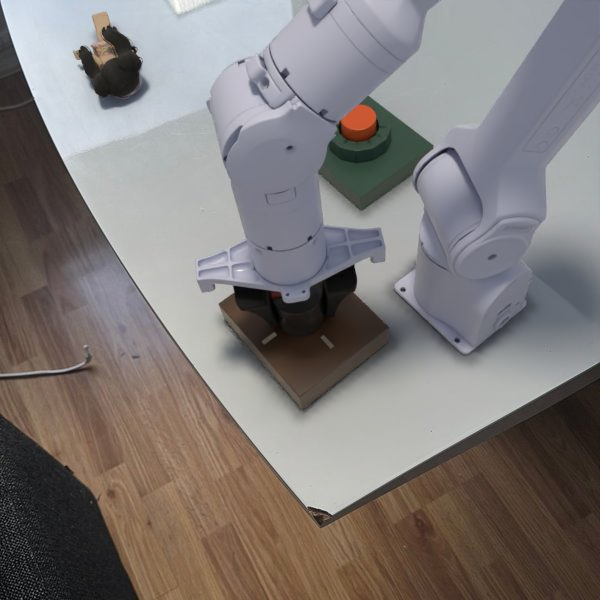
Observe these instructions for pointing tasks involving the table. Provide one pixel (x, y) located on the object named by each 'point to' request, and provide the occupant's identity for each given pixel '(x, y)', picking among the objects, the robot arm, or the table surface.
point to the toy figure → (111, 61)
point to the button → (359, 124)
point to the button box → (373, 158)
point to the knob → (301, 312)
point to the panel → (311, 346)
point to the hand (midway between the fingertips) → (300, 312)
